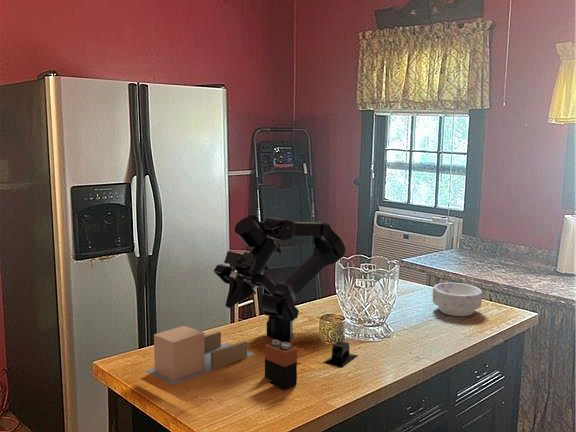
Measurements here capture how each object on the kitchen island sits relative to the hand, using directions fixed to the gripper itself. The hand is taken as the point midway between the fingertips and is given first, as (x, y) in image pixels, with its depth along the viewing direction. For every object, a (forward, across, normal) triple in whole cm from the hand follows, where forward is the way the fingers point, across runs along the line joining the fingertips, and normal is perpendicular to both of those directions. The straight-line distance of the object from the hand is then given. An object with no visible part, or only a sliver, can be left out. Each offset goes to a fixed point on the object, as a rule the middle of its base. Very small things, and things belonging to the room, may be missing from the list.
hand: (227, 307), depth 155 cm
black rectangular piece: (-4, +22, +24) cm, 32 cm away
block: (+19, 0, -2) cm, 19 cm away
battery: (+11, +21, +8) cm, 25 cm away
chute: (+15, 0, +4) cm, 16 cm away
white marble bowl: (-44, +24, +64) cm, 81 cm away
